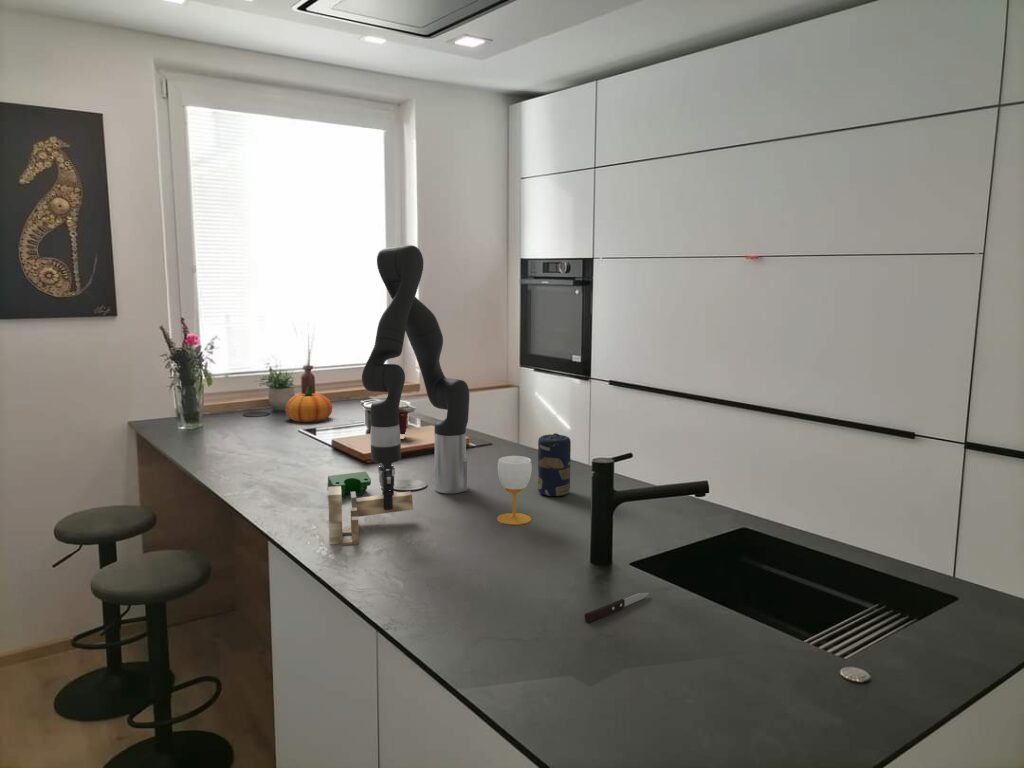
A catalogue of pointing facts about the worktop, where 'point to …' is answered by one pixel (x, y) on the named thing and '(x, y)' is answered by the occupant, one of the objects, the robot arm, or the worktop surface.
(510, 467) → the cup
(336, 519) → the post block
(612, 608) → the kitchen knife
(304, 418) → the pumpkin
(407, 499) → the light wooden bar
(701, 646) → the worktop surface
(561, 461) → the canister
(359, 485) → the clamp
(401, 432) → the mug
